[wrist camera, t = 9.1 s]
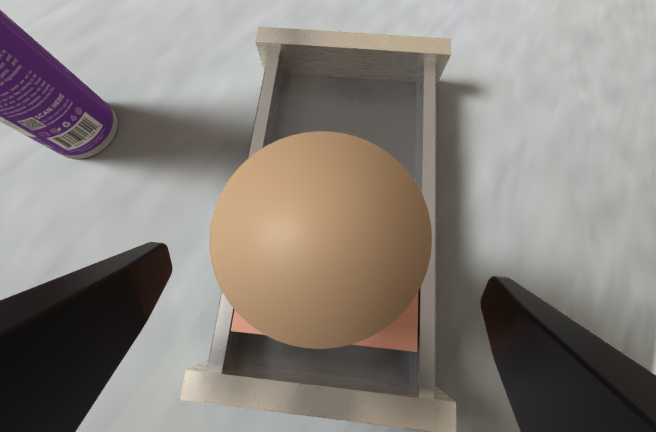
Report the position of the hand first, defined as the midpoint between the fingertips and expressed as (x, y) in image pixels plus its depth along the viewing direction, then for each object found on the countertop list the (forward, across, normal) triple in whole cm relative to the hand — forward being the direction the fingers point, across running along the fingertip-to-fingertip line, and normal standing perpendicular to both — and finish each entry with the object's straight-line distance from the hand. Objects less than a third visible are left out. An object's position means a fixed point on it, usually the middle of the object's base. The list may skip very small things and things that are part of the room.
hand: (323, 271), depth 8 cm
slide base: (+10, 0, +3) cm, 11 cm away
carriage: (+6, 0, +6) cm, 9 cm away
